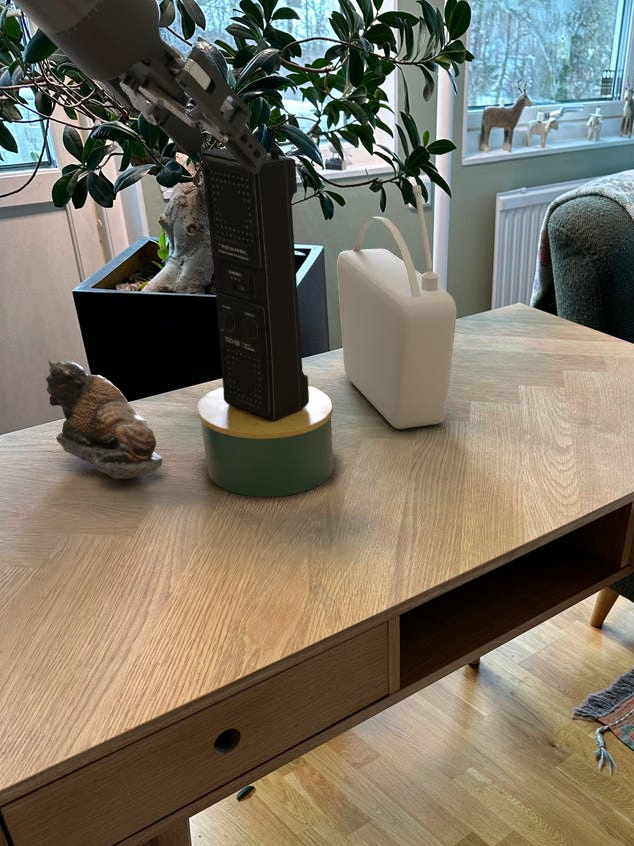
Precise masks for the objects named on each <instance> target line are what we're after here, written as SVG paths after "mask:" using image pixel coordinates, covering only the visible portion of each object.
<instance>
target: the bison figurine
mask: <svg viewBox="0 0 634 846" xmlns="http://www.w3.org/2000/svg"><path fill="white" fill-rule="evenodd" d="M48 365H49V367H50V368H49V373H50V374H49V375H48V376H47V377H46V378H45V380H46V382H47V388H46V392H47V394H49V395H50V396H49V398H48V399H49V405H50V406H51V407H55V406H59V407H61V409H62V413H63V416H64V418H65V420H64V421H63V423H62V430H61V432H60V433H58V434H57V435H56V438H55V439H56V441H57V443H58V444H60V445H61V447H62V449H63V450H64V452H66V453H68V454H70V455H73V456H75V457H77V458H79V459H80V460H83V461H85V462H87V463H88V464H89V465H92V466H95V468H96V470H97V471H99V472H101V473H104V474H106V475H108V476H109V477H110V478H112V479H116V480H128V479H133V478H138V477H141V476H145V475H147V474H150V473H153V472H156V471H157V470H158V469H160V468H161V467H162V464H163V461H164V459H163V457H162V456H161V455H159V454H158V453H156V452H155V449H156V447H157V440H156V436H155V434H154V431H153V429H152V428H151V427H150V425H149V424H148V422H147V421H146V420H145V419H144V418H143V417H141V416H140V414H138V412H137V411H136V409H135V408H134V406H132V405H131V404H130V402H129V400H128V399H127V398H126V396H125V395H124V394H123V393H122V391H121V390H120V389H119V388H118V387H117V386H116V385H114V384H113V383H112V382H111V381H110V380H108V379H107V378H106V377H103V376H102V375H100V374H87V373H86V370H85V369H84V367H82V366H81V365H79V364H77V363H76V362H73V361H70V360H62V361H58V362H53V361H51V359H48Z"/></svg>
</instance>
